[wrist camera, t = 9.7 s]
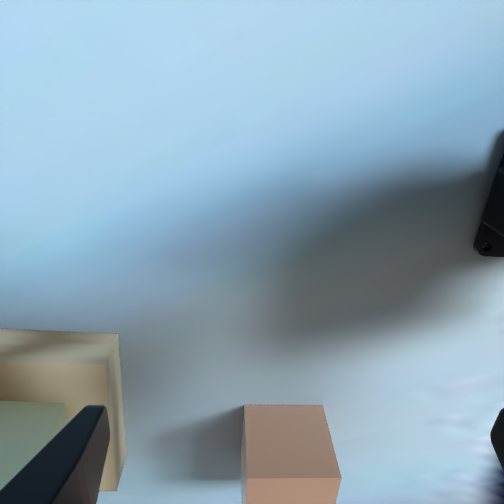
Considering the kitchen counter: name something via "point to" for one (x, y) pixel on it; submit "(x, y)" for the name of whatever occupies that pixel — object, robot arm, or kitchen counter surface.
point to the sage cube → (26, 433)
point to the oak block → (68, 380)
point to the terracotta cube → (287, 456)
